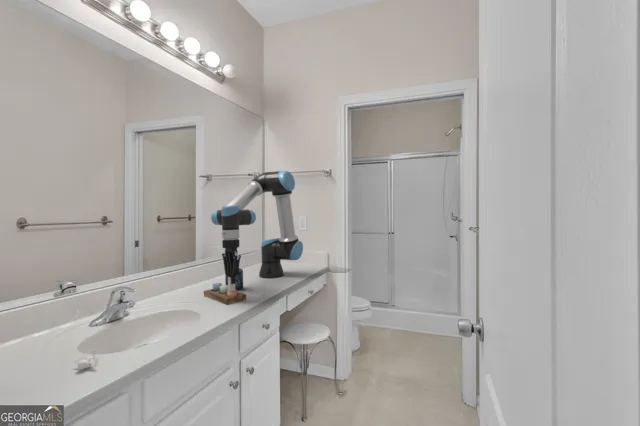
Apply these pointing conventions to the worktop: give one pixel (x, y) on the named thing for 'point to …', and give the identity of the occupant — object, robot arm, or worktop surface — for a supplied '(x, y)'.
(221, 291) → the plunger sage
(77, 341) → the worktop surface
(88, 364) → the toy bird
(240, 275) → the box
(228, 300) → the wooden tray
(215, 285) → the plunger slate
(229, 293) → the plunger terracotta
